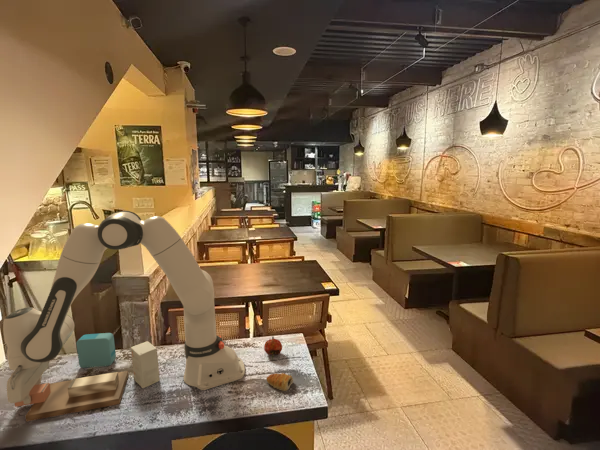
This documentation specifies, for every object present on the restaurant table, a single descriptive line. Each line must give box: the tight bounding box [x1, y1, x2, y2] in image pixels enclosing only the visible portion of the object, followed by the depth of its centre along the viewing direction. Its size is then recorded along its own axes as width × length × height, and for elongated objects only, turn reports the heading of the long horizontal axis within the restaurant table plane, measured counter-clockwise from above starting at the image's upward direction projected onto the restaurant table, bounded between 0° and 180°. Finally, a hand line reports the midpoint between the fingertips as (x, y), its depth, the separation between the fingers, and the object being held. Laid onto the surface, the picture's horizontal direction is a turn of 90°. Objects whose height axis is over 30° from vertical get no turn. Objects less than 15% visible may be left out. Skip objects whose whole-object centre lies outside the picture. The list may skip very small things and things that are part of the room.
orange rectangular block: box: [14, 382, 51, 408], centre depth 111 cm, size 8×5×4 cm, turn 107°
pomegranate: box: [263, 335, 283, 361], centre depth 139 cm, size 7×7×10 cm
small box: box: [130, 340, 161, 389], centre depth 123 cm, size 8×6×13 cm
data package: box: [75, 332, 117, 369], centre depth 133 cm, size 12×4×12 cm, turn 97°
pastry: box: [266, 372, 294, 392], centre depth 121 cm, size 9×7×4 cm
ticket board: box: [24, 370, 129, 422], centre depth 115 cm, size 26×16×6 cm, turn 107°
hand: (32, 396), depth 111 cm, fingers closed on orange rectangular block, 5 cm apart
